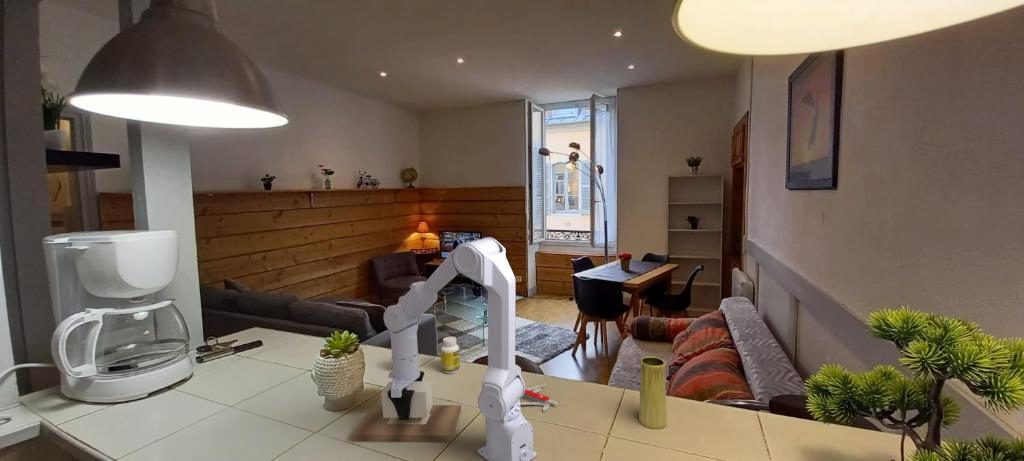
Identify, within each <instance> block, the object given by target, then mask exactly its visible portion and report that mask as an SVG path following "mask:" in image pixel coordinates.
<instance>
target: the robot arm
mask: <svg viewBox="0 0 1024 461" xmlns="http://www.w3.org/2000/svg"><path fill="white" fill-rule="evenodd" d="M506 253H507V251H506V248H505V247H504V246H503V245H502V244H501V243H500V242H499V241H498V240H496V239H495V238H493V237H491V236H489V237H488V236H487V237H483V238H480V239H477V240H473V241H469V242H462V243H459V244H458V245H457V246H456V247H455V248H454V249H453V250H451V251H450V252H449V253H448V254H447V257H446V258H445V259H444V260H443V262H441V264H440V265H439V266H438V267H437V268H436V269H435V270H434V272H433V273H432V274H431V275H430V277H428V278H427V279H426V280H425V281H424V280H423V281H418V282H414V283H413V282H412V283H411V285H409V288H410V290H409V291H408V292H406V293H405V295H402V296H400V297H398V302H397V304H393V305H389V306H387V308H386V309H385V311H384V312H383V321H384V322H383V323H384V325H385V327H386V329H388V330H389V331H390V345H391V346H390V347H391V356H392V362H391V364H392V363H393V364H392V371H390V372H389V373H388V374H387V376H388V377H387V378H388V379H392V381H391V382H392V388H390V390H389V391H388V392H387V394H388V398H389V399H390V400H391V401H392V403H393V404H394V406H395V409H396V412H397V415H398V418H399V420H408V419H409V417H410V408H411V400H412V396H413V393H414V391H415V390H407V388H406V386H408V385H409V384H410V383H412V382H413V381H423V379H424V377H425V371H423V370H420V368H421V362H420V361H421V360H420V359H419V348H418V330H419V323H420V321H421V319H422V316H423V314H424V313H425V312H426V311H428V309H430V308H431V307H432V306H433V305H434V304H435V303H436V302H437V300H438V292H439V291H441V290H442V289H443V288H444V287H445V286H446V285H447V284H448V283H449V282H451V281H453V279H454V278H455V277H456V276H457V275H459V274H461V275H463V276H465V277H466V278H469V279H470V280H472V281H474V282H476V283H477V284H479V285H481V286H482V287H484V289H486V291H487V369H486V371H485V375H484V377H483V379H482V381H481V390H480V393H479V395H478V397H477V405H478V409H479V411H480V413H481V414H482V415H483V416H484V419H485V420H484V421H485V435H486V436H485V441H486V445H483V446H482V447H480V448H479V449H478V450H477V453H478V454H479V455H481V456H482V457H483V458H484V459H486V460H487V461H532V459H534V458H535V457H537V452H536V451H535V450H534V431H533V426H532V424H531V423H530V422H529V421H528V420H527V419H526V418H525V417H524V414H522V413H523V412H522V410H521V409H522V408H521V405H520V403H521V399H522V398H521V397H522V396H523V395H524V392H525V389H526V385H525V380H524V379H523V377H522V367H520V366H519V365H518V364H516V277H515V274H514V273H513V270H512V267H511V266H510V263H509V261H508V259H507V256H506Z"/></svg>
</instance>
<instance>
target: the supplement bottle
mask: <svg viewBox="0 0 1024 461" xmlns="http://www.w3.org/2000/svg"><path fill="white" fill-rule="evenodd" d="M457 343H458V342H457V338H456V336H446V337H443V339H442V344H443V345H442V346H441V348H440V356H441V359H440V360H441V361H440V362H441V364H440V365H441V371H442V373H444V374H455V373H457V372H458V371H460V365H461V364H460V346H459V345H458V344H457Z"/></svg>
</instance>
